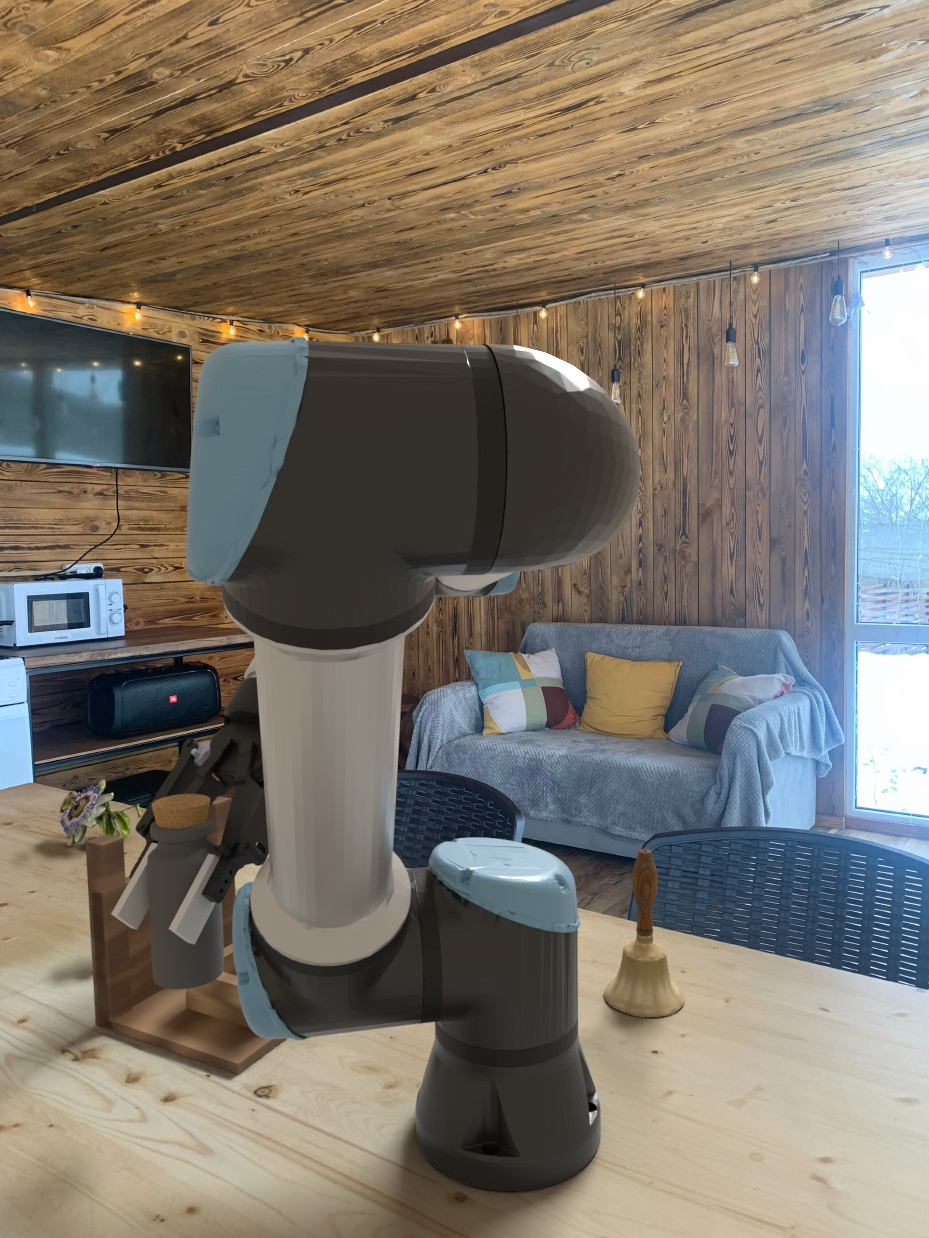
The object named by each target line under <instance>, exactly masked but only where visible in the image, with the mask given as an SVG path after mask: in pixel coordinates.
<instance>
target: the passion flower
mask: <svg viewBox="0 0 929 1238" xmlns="http://www.w3.org/2000/svg"><path fill="white" fill-rule="evenodd" d="M106 785H107V781H106V779H105V778H103V779H101V780H99V782H98V784H97V785H95V786H94V784H91V785H90V786H89V787H86V788H85V789H82V792H80V791H78V792H77V794H76V791H74V790H70V791H69V792H68V794H67V795H66V796H65V797H64V798H63V800H62V802H61V804H59V809H60V810H59V814H61V815H59V816H58V819H57V820H59V821H60V824H61V827H62V828H63V832H64V833H65V834H66V835H65V838H66V839H69V841H68V843H67V844H66V846H67V845H73V844H74V845H75V844H79V843H80V842H82V841H83V840H84V838H85V836H86V833H87V829H88V828H89V829H92V828H95V827H96V826H97V825H98V827H99V828H100V829H102V832H103V835H111V836H116V837H118V836H117V835H119V834H120V835H121V836H122V838H123V842H125V841H126V840H127V839H128V837H129V835H130V832H131V829H132V828H131V823H130V822H131V818H130V817H129V815H128V814H126V813H125V811H127V810H130V809H132V808H135V810H136V813H137V817H138V818H140V819H141V818H142V813H141V807H140V803H137V804H136V805H135V804H134V805H132V806H130V807H127V808H125V809H122V810H115V811H112V810H111V806H110V802H111V801H112V800H113V799H114V792H110V793H105V794H103V792H104V790H105V789H106ZM117 824H118V825H119V830H120V832H121V833H120V832H119V830H118V827H117ZM74 845H73V846H74Z"/></svg>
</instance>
